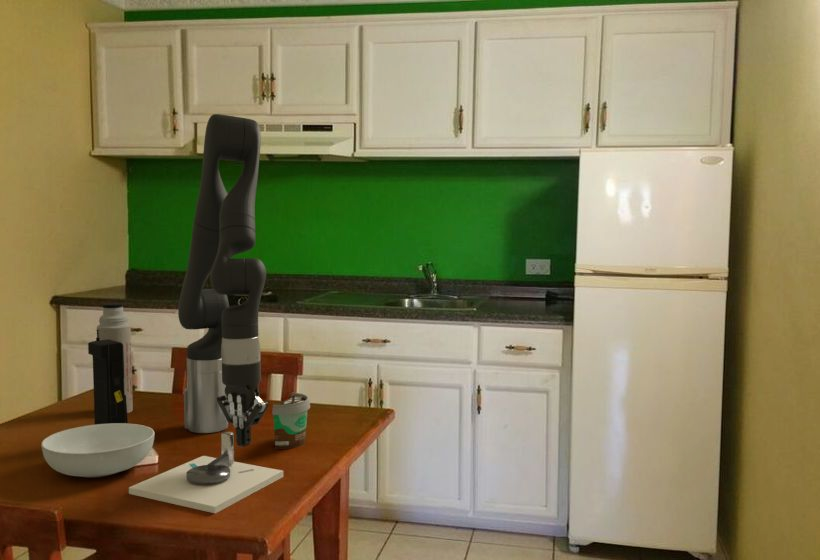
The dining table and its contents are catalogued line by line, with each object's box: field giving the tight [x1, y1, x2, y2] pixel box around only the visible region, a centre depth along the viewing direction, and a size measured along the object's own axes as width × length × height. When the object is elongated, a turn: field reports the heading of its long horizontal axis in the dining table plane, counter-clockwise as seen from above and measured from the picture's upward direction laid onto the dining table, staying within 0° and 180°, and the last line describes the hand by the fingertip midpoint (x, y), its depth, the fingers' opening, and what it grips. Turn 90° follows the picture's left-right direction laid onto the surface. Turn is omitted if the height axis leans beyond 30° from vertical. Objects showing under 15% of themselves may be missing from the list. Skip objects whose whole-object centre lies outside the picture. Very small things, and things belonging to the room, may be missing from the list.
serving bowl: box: [40, 423, 155, 478], centre depth 150 cm, size 21×21×7 cm
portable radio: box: [87, 329, 129, 425], centre depth 166 cm, size 8×6×25 cm
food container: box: [271, 392, 311, 450], centre depth 167 cm, size 12×6×10 cm, turn 168°
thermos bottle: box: [96, 302, 134, 414], centre depth 192 cm, size 8×8×28 cm
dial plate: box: [128, 455, 284, 514], centre depth 142 cm, size 20×20×1 cm
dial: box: [186, 431, 235, 484], centre depth 144 cm, size 13×8×6 cm, turn 167°
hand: (243, 445), depth 149 cm, fingers closed
